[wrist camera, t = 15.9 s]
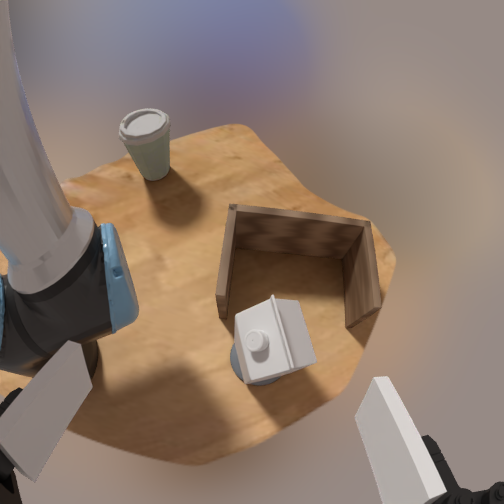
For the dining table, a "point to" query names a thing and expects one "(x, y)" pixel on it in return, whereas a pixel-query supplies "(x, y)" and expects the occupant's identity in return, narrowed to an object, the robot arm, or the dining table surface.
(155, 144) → the disposable coffee cup
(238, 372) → the disc
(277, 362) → the milk carton
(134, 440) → the dining table surface
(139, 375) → the dining table surface
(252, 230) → the walnut cubby
